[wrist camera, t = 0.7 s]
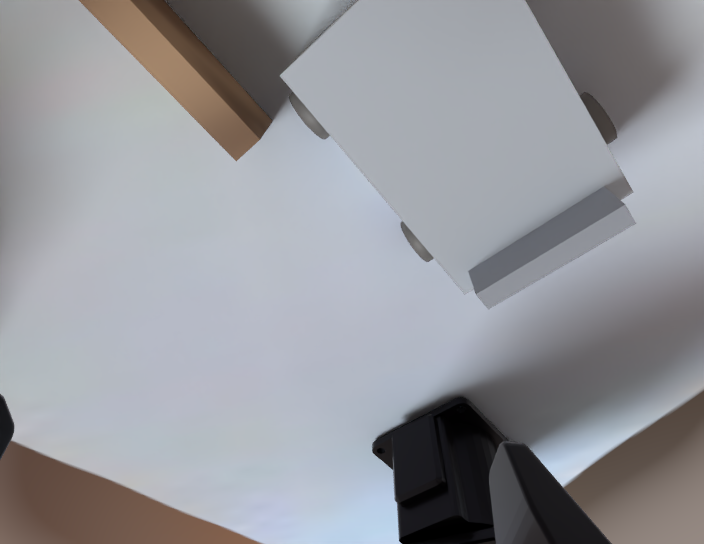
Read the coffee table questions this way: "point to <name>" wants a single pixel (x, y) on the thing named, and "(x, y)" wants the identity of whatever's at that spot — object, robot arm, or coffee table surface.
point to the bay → (185, 69)
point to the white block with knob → (467, 135)
